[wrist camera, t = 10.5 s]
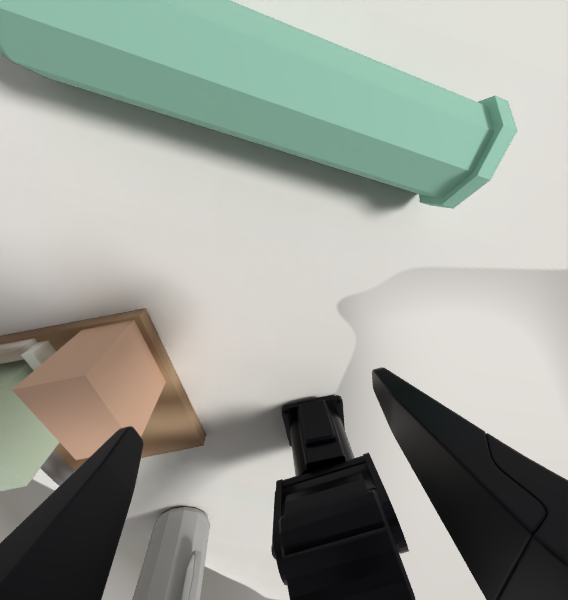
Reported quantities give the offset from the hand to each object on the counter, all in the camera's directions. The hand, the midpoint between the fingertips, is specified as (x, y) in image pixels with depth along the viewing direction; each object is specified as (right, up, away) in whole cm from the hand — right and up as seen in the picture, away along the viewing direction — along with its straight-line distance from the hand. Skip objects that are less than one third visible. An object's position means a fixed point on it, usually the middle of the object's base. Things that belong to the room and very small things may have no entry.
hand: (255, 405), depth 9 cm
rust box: (-12, -1, +11) cm, 16 cm away
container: (0, +16, +6) cm, 17 cm away
